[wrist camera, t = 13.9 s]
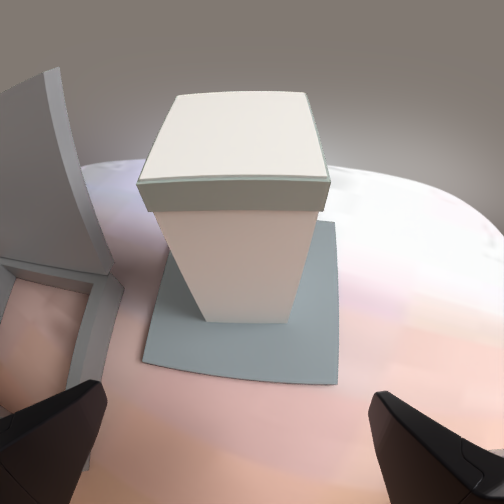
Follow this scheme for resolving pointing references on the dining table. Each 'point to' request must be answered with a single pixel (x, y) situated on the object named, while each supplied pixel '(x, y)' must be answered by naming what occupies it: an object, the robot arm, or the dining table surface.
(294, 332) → the slate mat
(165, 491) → the dining table surface
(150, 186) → the block
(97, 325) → the equipment case
